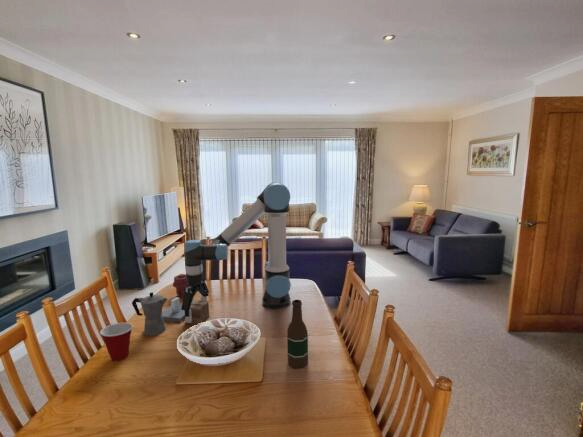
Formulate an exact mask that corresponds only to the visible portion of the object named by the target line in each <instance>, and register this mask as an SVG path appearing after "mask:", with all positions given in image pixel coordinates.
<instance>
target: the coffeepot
mask: <svg viewBox="0 0 583 437" xmlns="http://www.w3.org/2000/svg"><path fill="white" fill-rule="evenodd" d="M148 294H149V295H148V296H145V297H135V298H134V299H133V300H132V301H131V305H132V307H133V309H134V310H135V313H136V315H137V316H140V317H141V316H143V315H144V317H145V318H144V328H143V329H144V331H143V334H144V336H147V337H148V336H151V337H152V336H157V335H160V334H162V333H163V332H164V331H165V330H166V323H165V321H164V320H163V317H162V312H163V307H164V304H165V303H166V302H167V301H168V298H166V297H164V296H163V295H160V294H154V292H150V293H148ZM137 303H140V304H141V308H142V312H143V313H142V312H140V309H139V308H138V304H137Z"/></svg>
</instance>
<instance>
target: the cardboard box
mask: <svg viewBox="0 0 583 437" xmlns="http://www.w3.org/2000/svg"><path fill="white" fill-rule="evenodd" d="M209 303H210V302H209V300H207V301H201V299H200V300H199V299H193V300H192V303H191V306H190V309H191V316H192V323H189V324H191V325H192V324H193V325H199V324H198V323H201V322H203V323H204V322H205V321H206V320H207V319H208V318H209V317H210V305H209ZM184 311H185V310H184ZM184 321H185V324H188V323H187V322H186V319H184Z"/></svg>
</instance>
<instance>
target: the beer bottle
mask: <svg viewBox="0 0 583 437" xmlns="http://www.w3.org/2000/svg"><path fill="white" fill-rule="evenodd" d="M291 301H292V302H291V305H292V313H291V321H290V323H289V324H288V327H287V331H286V335H287V336H286V337H287V338H286V339H287V361H288V366H289V367H292V369H303V368H305V366H307V365H308V361H309V339H308V338H309V335H308V334H309V333H308V329H307V326H306V323H305V322H304V321H303V310H302V305H303V302H302V300H300V299H294V300H291Z"/></svg>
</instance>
